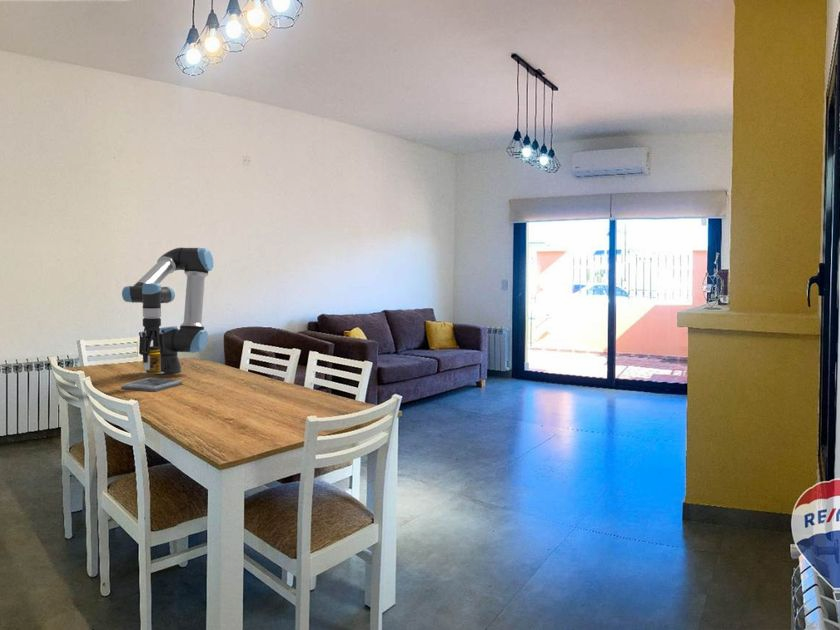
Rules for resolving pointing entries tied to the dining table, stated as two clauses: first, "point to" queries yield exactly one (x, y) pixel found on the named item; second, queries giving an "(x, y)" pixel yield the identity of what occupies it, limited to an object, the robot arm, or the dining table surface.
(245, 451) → the dining table surface
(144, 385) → the grey square tray
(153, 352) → the condiment
